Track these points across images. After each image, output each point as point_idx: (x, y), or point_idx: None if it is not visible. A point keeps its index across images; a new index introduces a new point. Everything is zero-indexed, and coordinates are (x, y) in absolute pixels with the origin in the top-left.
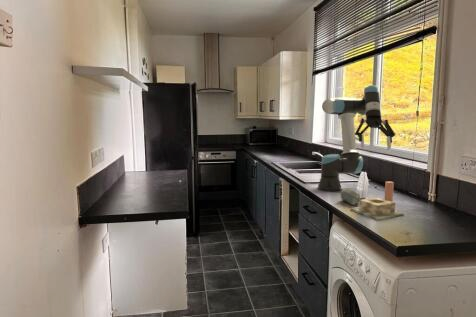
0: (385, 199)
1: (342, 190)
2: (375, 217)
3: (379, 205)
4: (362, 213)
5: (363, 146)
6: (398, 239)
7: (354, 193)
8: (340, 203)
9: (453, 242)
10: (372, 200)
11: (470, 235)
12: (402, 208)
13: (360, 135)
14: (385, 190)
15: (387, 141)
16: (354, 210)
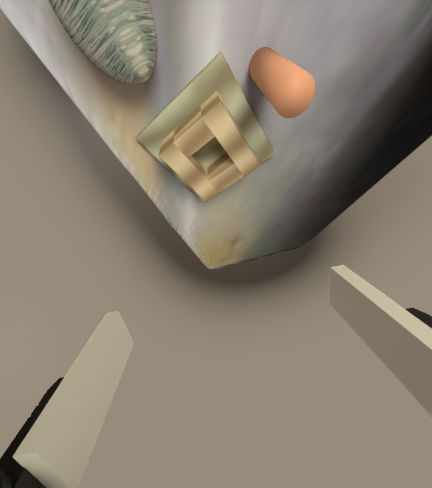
0: (256, 82)
1: None
2: (198, 198)
3: (209, 198)
4: (171, 171)
5: (127, 339)
6: (216, 257)
7: (129, 78)
8: None
9: (279, 251)
10: (199, 148)
11: (321, 229)
12: None
13: (32, 485)
14: (264, 88)
15: (390, 335)
16: (149, 150)
